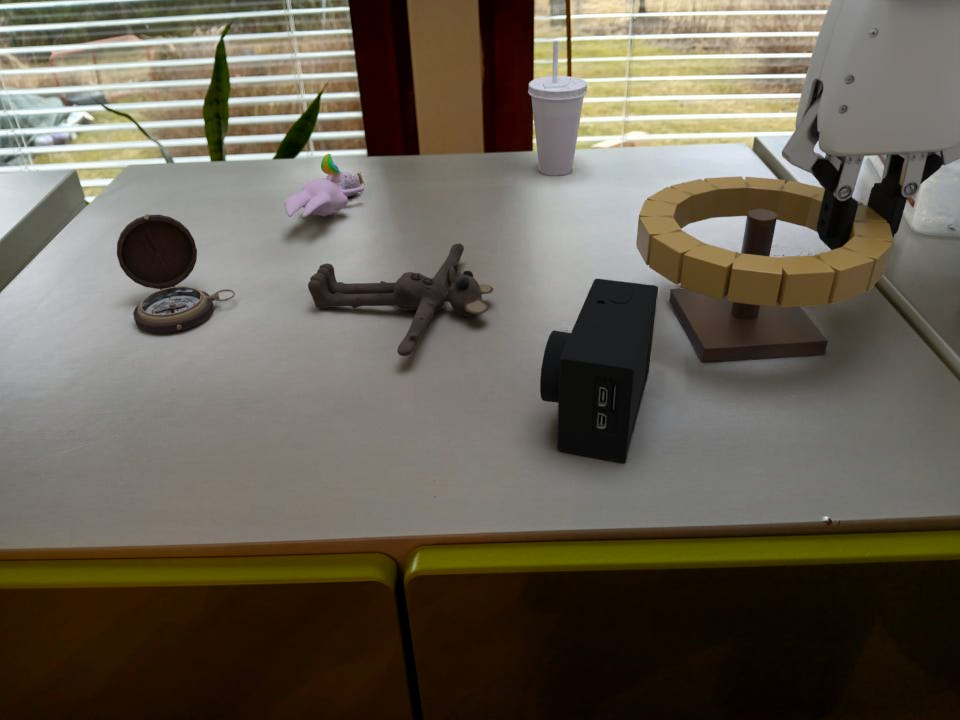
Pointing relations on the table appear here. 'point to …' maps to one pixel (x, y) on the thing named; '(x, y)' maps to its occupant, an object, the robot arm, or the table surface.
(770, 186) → the block ring
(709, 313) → the brown peg stand
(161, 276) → the compass
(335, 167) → the rabbit figure
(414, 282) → the bear figurine
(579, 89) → the smoothie
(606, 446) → the digital camera
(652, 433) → the table surface
